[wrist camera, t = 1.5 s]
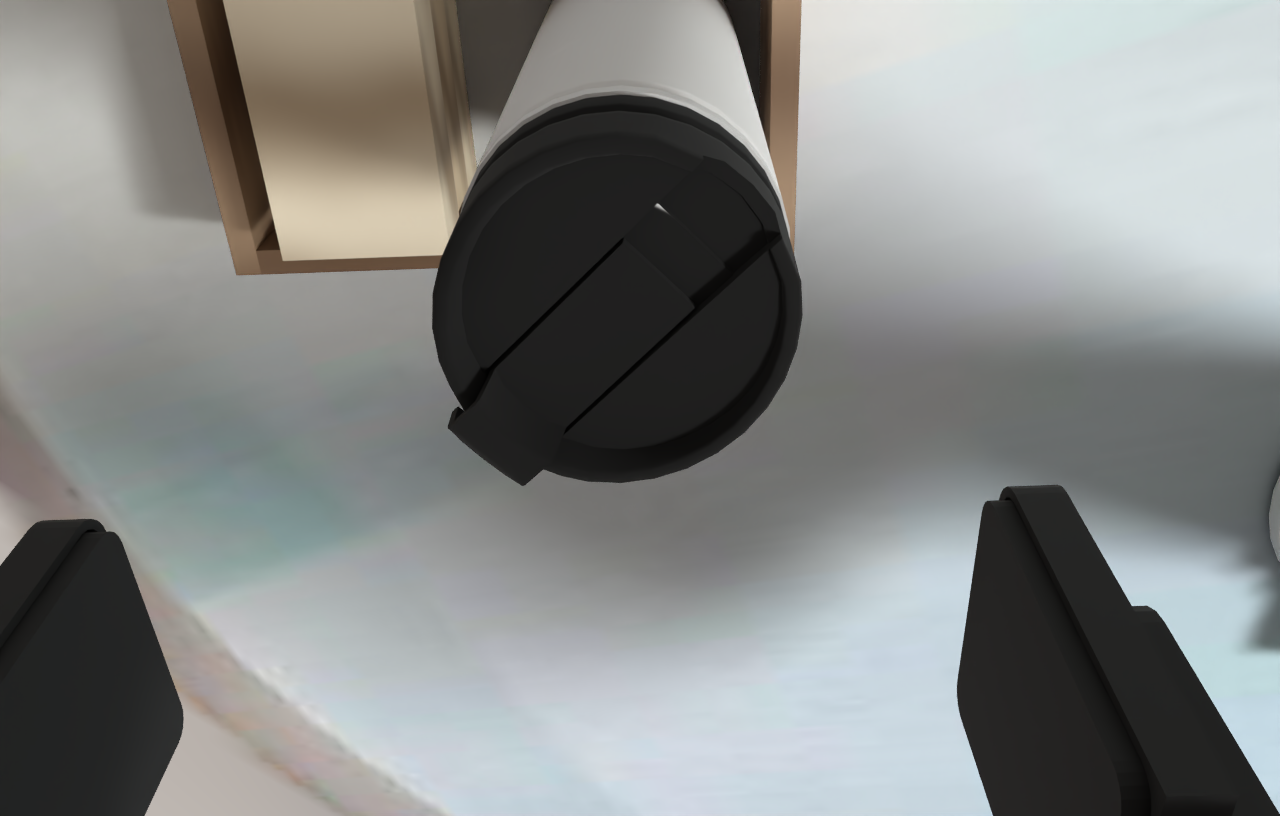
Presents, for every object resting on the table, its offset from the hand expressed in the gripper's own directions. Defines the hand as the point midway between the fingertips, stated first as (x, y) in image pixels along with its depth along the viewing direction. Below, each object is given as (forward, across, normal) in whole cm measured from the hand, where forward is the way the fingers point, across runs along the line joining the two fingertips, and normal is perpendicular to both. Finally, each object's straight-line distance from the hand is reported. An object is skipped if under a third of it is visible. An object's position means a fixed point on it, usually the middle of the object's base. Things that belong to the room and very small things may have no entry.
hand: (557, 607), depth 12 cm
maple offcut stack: (+27, +7, 0) cm, 28 cm away
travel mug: (+27, -1, 0) cm, 27 cm away
